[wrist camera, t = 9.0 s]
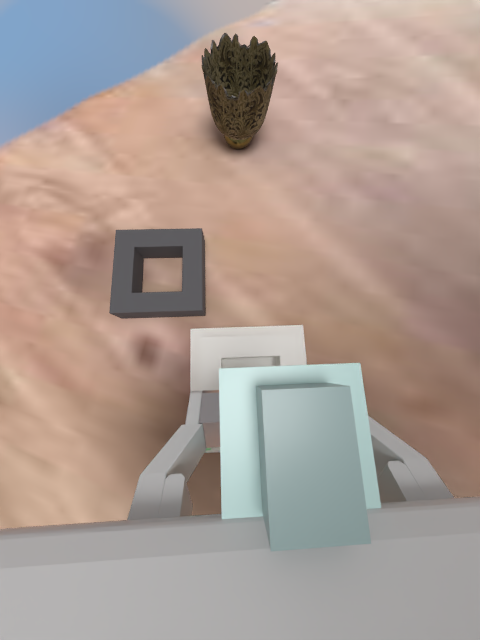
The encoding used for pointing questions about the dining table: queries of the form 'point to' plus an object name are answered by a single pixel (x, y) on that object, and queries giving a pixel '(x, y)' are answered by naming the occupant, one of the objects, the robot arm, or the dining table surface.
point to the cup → (239, 87)
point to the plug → (298, 453)
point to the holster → (130, 273)
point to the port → (242, 352)
